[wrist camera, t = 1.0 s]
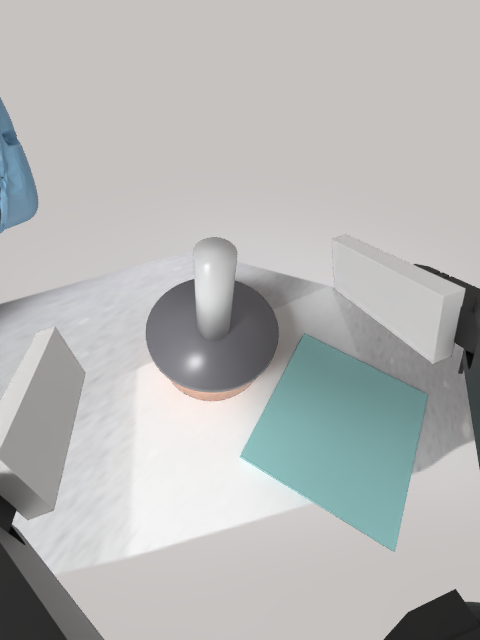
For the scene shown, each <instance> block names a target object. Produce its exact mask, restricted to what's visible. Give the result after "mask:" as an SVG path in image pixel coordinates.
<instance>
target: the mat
mask: <svg viewBox="0 0 480 640" xmlns="http://www.w3.org/2000/svg"><path fill="white" fill-rule="evenodd" d="M427 396H428V395H427V394H425V393H423V392H421V391H419V390H417V389H415V388H413V387H411V386H409V385H407V384H405V383H403V382H401V381H399V380H397V379H395V378H393V377H391V376H389V375H387V374H385V373H383V372H381V371H379V370H377V369H375V368H373V367H371V366H369V365H367V364H365V363H363V362H361V361H359V360H357V359H355V358H353V357H351V356H349V355H347V354H345V353H343V352H341V351H339V350H337V349H335V348H333V347H331V346H329V345H327V344H325V343H323V342H321V341H319V340H317V339H315V338H313V337H311V336H309V335H307V334H305V333H304V335H303V337H302V339H301V341H300V342H299V344H298V346H297V348H296V350H295V352H294V354H293V356H292V358H291V360H290V362H289V363H288V365H287V367H286V369H285V371H284V373H283V375H282V377H281V379H280V381H279V383H278V385H277V386H276V388H275V390H274V392H273V394H272V396H271V398H270V400H269V402H268V404H267V406H266V407H265V409H264V411H263V413H262V415H261V417H260V419H259V421H258V423H257V425H256V427H255V429H254V430H253V432H252V434H251V436H250V438H249V440H248V442H247V444H246V446H245V448H244V450H243V451H242V453H241V455H240V457H241V458H242V459H244V460H246V461H247V462H249V463H250V464H252V465H254V466H255V467H257V468H258V469H260V470H262V471H263V472H265V473H267V474H268V475H270V476H271V477H273V478H275V479H276V480H278V481H280V482H281V483H283V484H284V485H286V486H288V487H289V488H291V489H293V490H294V491H296V492H297V493H299V494H301V495H302V496H304V497H305V498H307V499H309V500H310V501H312V502H314V503H315V504H317V505H318V506H320V507H322V508H323V509H325V510H327V511H328V512H330V513H332V514H333V515H335V516H336V517H338V518H340V519H341V520H343V521H345V522H346V523H348V524H349V525H351V526H352V527H354V528H356V529H358V530H359V531H361V532H362V533H364V534H366V535H367V536H369V537H370V538H372V539H374V540H375V541H377V542H378V543H380V544H382V545H383V546H385V547H387V548H388V549H390V550H391V551H395V548H396V544H397V539H398V534H399V529H400V525H401V520H402V515H403V511H404V506H405V501H406V496H407V492H408V487H409V482H410V477H411V473H412V468H413V463H414V458H415V453H416V449H417V444H418V439H419V434H420V430H421V425H422V420H423V415H424V411H425V406H426V401H427Z"/></svg>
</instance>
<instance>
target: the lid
mask: <svg viewBox="0 0 480 640" xmlns="http://www.w3.org/2000/svg"><path fill="white" fill-rule="evenodd" d="M193 261H194V279H193V280H189V281H186V282H184V283H181V284H179V285H177V286H175V287H174V288H172V289H170V290H169V291H168V292H166V293H165V294H164V295H163V296H162V297H161V298H160V299H159V300H158V301H157V303H156V304H155V305H154V307H153V308H152V310H151V312H150V315H149V317H148V320H147V324H146V341H147V346H148V349H149V352H150V355H151V357H152V359H153V361H154V363H155V364H156V366H157V367H158V368H159V370H160V371H161V372H162V373H163V374H164V375H165V376H166V377H167V378H169V379H170V380H172V381H173V382H175V383H176V384H178V385H180V386H182V387H185V388H187V389H190V390H194V391H199V392H207V393H218V392H226V391H231V390H234V389H237V388H240V387H242V386H244V385H246V384H248V383H250V382H251V381H253V380H254V379H256V378H257V377H258V376H259V375H260V374H261V373H262V372H263V371H264V370H265V369H266V368H267V366H268V365H269V363H270V362H271V360H272V358H273V356H274V353H275V350H276V347H277V344H278V336H279V334H278V324H277V320H276V317H275V314H274V312H273V310H272V308H271V307H270V305H269V304H268V302H267V301H266V300H265V299H264V298H263V297H262V296H261V295H260V294H259V293H258V292H256V291H255V290H253V289H252V288H250V287H249V286H247V285H245V284H243V283H240V282H238V281H235V272H236V262H237V250H236V247H235V246H234V245H233V244H232V243H231V242H229V241H227V240H225V239H222V238H217V237H212V238H206V239H203V240H201V241H200V242H198V243H197V244H196V245H195V247H194V250H193Z"/></svg>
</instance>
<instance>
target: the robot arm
mask: <svg viewBox="0 0 480 640" xmlns="http://www.w3.org/2000/svg"><path fill="white" fill-rule="evenodd" d="M16 136H17V135H16V133H15V131H14V127H13V124H12V121H11V119H10V117H9V114H8V112H7V110H6V108H5V106H4V104H3V102H2V100H1V98H0V233H1V232H3V231H4V230H5V229H7V228H10V227H12V226H15V225H18V224H20V223H23V222H25V221H28V220H29V219H31V218H32V217H33V216H34V215H35V213H36V211H37V208H38V196H37V190H36V186H35V182H34V179H33V176H32V173H31V169H30V167H29V164H28V161H27V158H26V156H25V153H24V151H23V148H22V146H21V144H20V142H19V141H18V140H17V137H16ZM332 253H333V271H334V289H335V290H337V291H338V292H339V293H341V294H342V295H343V296H345V297H346V298H347V299H348V300H350V301H351V302H352V303H354V304H355V305H356V306H358V307H359V308H360V309H362V310H363V311H364V312H366V313H367V314H368V315H369V316H371V317H372V318H373V319H375V320H376V321H377V322H379V323H380V324H381V325H383V326H384V327H385V328H387V329H388V330H389V331H390V332H392V333H393V334H394V335H396V336H397V337H398V338H400V339H401V340H402V341H404V342H405V343H406V344H408V345H409V346H410V347H411V348H413V349H414V350H415V351H417V352H418V353H419V354H421V355H422V356H423V357H425V358H426V359H427V360H429V361H430V362H431V363H432V364H434V363H437V362H439V361H442V360H444V359H447V358H449V357H452V353H453V348H454V343H456V344H458V345H459V346H461V347H462V348H464V351H463V355H462V360H461V364H460V368H459V373H460V374H462V373H463V370H464V372H465V379H466V385H467V391H468V398H469V404H470V410H471V417H472V423H473V430H474V436H475V442H476V448H477V455H478V461H479V467H480V289H479V288H476V287H475V286H472V285H470V284H468V283H465V282H463V281H461V280H458V279H456V278H454V277H449V275H447V274H445V273H440V271H438V270H436V269H433V268H431V267H428V266H423V265H418V264H410V263H408V262H406V261H404V260H402V259H399V258H397V257H395V256H393V255H391V254H389V253H386V252H384V251H382V250H380V249H378V248H375V247H373V246H371V245H369V244H367V243H364V242H362V241H360V240H358V239H356V238H353V237H351V236H349V235H346V234H345V235H342V236H339V237H336V238H333V239H332ZM85 374H86V373H85V371H84V370H83V368H82V367H81V365H80V364H79V362H78V361H77V359H76V357H75V356H74V354H73V353H72V351H71V350H70V348H69V347H68V345H67V344H66V342H65V340H64V339H63V337H62V336H61V334H60V333H59V331H58V330H57V328H56V327H52V328H49V329H45V330H42V331H39V332H37V333H36V335H35V337H34V339H33V341H32V343H31V345H30V347H29V349H28V350H27V352H26V354H25V356H24V358H23V360H22V362H21V364H20V365H19V367H18V369H17V371H16V373H15V375H14V377H13V379H12V381H11V382H10V384H9V386H8V388H7V390H6V392H5V394H4V396H3V397H2V399H1V401H0V640H104V639H103V637H102V636H101V635H100V634H99V633H98V631H97V630H96V628H95V627H94V626H93V625H92V623H91V622H90V621H89V620H88V618H87V617H86V616H85V614H84V613H83V612H82V610H81V609H80V608H79V607H78V605H77V604H76V603H75V601H74V600H73V599H72V598H71V596H70V595H69V594H68V592H67V591H66V590H65V589H64V588H63V586H62V585H61V583H60V582H59V581H58V580H57V579H56V577H55V576H54V574H53V573H52V572H51V571H50V569H49V568H48V567H47V566H46V564H45V563H44V562H43V560H42V559H41V558H40V557H39V555H38V554H37V553H36V551H35V550H34V549H33V548H32V546H31V545H30V544H29V542H28V541H27V540H26V539H25V537H24V536H23V535H22V533H21V532H20V531H19V530H18V529H17V528H16V527H15V526H13V525H12V522H13V519H14V516H15V513H16V511H18V512H19V513H20V514H21V515H22V516H23V517H25V518H26V519H27V520H30V519H33V518H35V517H38V516H40V515H43V514H45V513H48V512H51V511H53V510H54V508H55V504H56V500H57V495H58V491H59V486H60V482H61V478H62V473H63V469H64V465H65V460H66V456H67V452H68V447H69V443H70V439H71V434H72V430H73V426H74V421H75V417H76V413H77V408H78V404H79V400H80V395H81V391H82V387H83V382H84V378H85ZM384 640H480V603H478V602H464V600H463V599H462V597H461V596H460V595H459V593H458V592H457V590H456V589H455V590H453V591H450V592H448V593H446V594H444V595H442V596H440V597H438V598H436V599H434V600H432V601H430V602H428V603H426V604H424V605H422V606H420V607H418V608H416V609H414V610H412V611H410V612H408V613H407V614H406V615H405V616H404V617H403V618H402V620H401V621H400V622H399V623H398V624H397V625H396V627H394V629H393V630H392V631H391V632H390V633H389V634H388V635H387V636H386V638H385V639H384Z"/></svg>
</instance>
